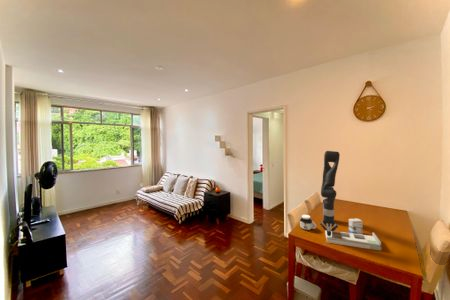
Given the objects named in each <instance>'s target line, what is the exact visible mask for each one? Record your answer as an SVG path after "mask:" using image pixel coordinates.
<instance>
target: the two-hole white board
mask: <svg viewBox="0 0 450 300" xmlns="http://www.w3.org/2000/svg"><path fill="white" fill-rule="evenodd" d="M340 232H341V235H342V239H339V238H332V231H331V235H330V236H328V235H327V231H326V230H324V234H325V239H326V243H329V244H335V245H342V246H347V247H348V246H349V247H355V248H360V249H361V248H362V249H369V250H375V251H382V242H381V240H380V239H379V237H378V235H376V234H375V232H371V233H372V235H368V234H362V235H361V234H353V233H349V232H344V231H340Z"/></svg>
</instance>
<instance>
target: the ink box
mask: <svg viewBox="0 0 450 300" xmlns="http://www.w3.org/2000/svg"><path fill="white" fill-rule="evenodd" d="M348 233H353V234H361V235H363V220H362V219H360V218H356V217H355V218H348Z"/></svg>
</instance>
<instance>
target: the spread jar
mask: <svg viewBox="0 0 450 300" xmlns="http://www.w3.org/2000/svg"><path fill="white" fill-rule="evenodd" d="M299 226H300V228H301V229H302V230H303V229H304V230H303V231H306V230H309V231H311V230H312V229H316V228H317V224H316V223H315V222H314V221H313V220H312V218H311V216H310V215H309V214H302V215H301V218H300V219H299Z"/></svg>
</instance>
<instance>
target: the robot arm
mask: <svg viewBox="0 0 450 300" xmlns="http://www.w3.org/2000/svg"><path fill="white" fill-rule="evenodd" d="M339 161H340V152H339V151H336V150H335V151H333V150H325V152H324V155H323V171H322V172H323V173H322V182H321V189H320V195H321V197H323V198H324V199H323V200H322V217H323V218H322V221H320V222H319V225H320V226H321V227H322V229H323V230H324V231H325V230H326V231H327V235H328V236H330V235H331V231H336V229H338V227H339V224H337V223H336V222H335V200H336V197H337V190H335V189H334V187H335V184H336V175H337V172H338V166H339ZM330 163H333V165H332V166H331V164H330Z"/></svg>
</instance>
